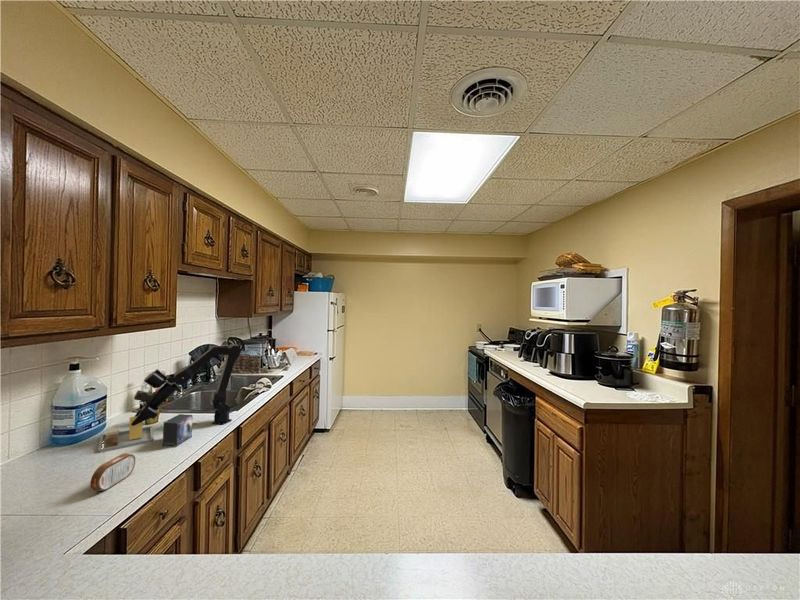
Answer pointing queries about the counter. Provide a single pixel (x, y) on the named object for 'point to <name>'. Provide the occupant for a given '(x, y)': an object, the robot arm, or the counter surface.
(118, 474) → the tin
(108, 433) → the off-white block
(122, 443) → the tray
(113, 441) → the walnut block
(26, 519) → the counter surface
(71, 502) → the counter surface
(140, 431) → the mustard box
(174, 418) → the small box
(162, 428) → the mat
